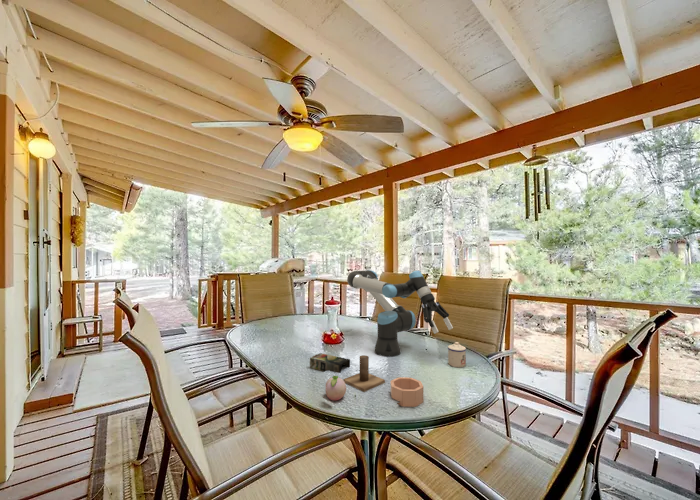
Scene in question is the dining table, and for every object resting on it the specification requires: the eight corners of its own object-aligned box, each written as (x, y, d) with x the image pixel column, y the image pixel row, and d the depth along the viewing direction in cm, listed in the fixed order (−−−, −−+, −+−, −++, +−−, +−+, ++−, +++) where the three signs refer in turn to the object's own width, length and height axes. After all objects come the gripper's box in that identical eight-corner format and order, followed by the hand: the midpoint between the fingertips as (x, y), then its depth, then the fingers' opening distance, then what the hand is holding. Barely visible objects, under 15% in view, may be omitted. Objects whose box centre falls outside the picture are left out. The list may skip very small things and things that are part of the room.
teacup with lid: (464, 369, 152) (464, 346, 152) (446, 365, 157) (446, 343, 157) (468, 361, 163) (468, 340, 163) (450, 358, 167) (450, 337, 167)
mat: (341, 385, 134) (341, 381, 134) (363, 376, 143) (363, 373, 143) (364, 396, 123) (364, 392, 123) (386, 386, 133) (386, 382, 133)
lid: (343, 381, 134) (343, 356, 134) (363, 373, 142) (363, 350, 143) (364, 391, 124) (364, 364, 124) (385, 382, 133) (384, 357, 133)
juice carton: (307, 368, 154) (307, 356, 154) (319, 362, 163) (319, 350, 163) (339, 377, 143) (339, 364, 144) (350, 370, 152) (350, 358, 152)
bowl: (384, 398, 122) (384, 383, 122) (403, 388, 130) (403, 374, 130) (410, 410, 113) (410, 394, 113) (428, 399, 121) (428, 384, 121)
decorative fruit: (346, 406, 115) (346, 380, 115) (325, 407, 115) (325, 380, 115) (345, 395, 125) (345, 370, 125) (325, 395, 124) (325, 371, 124)
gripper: (416, 294, 162) (435, 331, 153) (443, 291, 178) (461, 324, 169) (407, 300, 167) (424, 337, 158) (434, 297, 183) (451, 330, 174)
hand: (444, 330), depth 163 cm, fingers open, 13 cm apart
